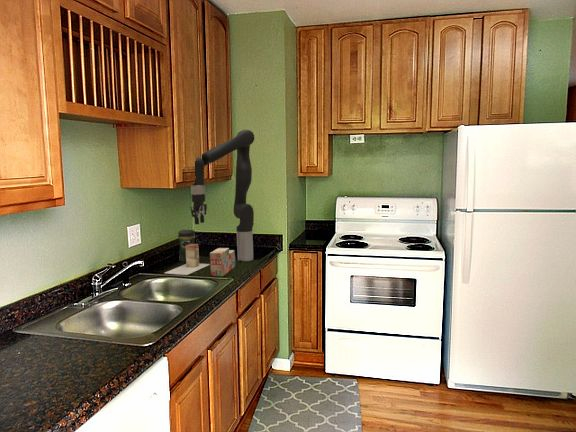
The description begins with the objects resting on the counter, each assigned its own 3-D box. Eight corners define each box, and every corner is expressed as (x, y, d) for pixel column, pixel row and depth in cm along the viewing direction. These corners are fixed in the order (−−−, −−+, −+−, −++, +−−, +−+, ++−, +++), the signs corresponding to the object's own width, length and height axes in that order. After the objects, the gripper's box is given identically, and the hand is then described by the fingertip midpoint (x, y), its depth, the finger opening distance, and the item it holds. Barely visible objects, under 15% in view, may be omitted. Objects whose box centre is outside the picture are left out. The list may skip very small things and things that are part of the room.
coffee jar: (198, 259, 259) (196, 228, 257) (194, 262, 251) (192, 230, 249) (182, 259, 260) (180, 228, 258) (178, 262, 252) (176, 231, 250)
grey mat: (189, 264, 247) (188, 262, 247) (210, 265, 243) (210, 264, 243) (163, 274, 225) (163, 273, 225) (186, 276, 220) (186, 274, 220)
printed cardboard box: (224, 266, 241) (224, 244, 239) (235, 266, 240) (234, 244, 238) (210, 276, 220) (209, 252, 219) (222, 276, 219) (221, 252, 217)
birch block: (191, 265, 242) (190, 243, 240) (199, 265, 240) (198, 244, 238) (186, 267, 237) (185, 245, 235) (194, 267, 235) (193, 245, 234)
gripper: (199, 192, 250) (200, 221, 252) (185, 194, 236) (186, 225, 239) (210, 192, 247) (211, 221, 249) (197, 194, 234) (198, 225, 236)
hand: (199, 223), depth 244 cm, fingers open, 5 cm apart
